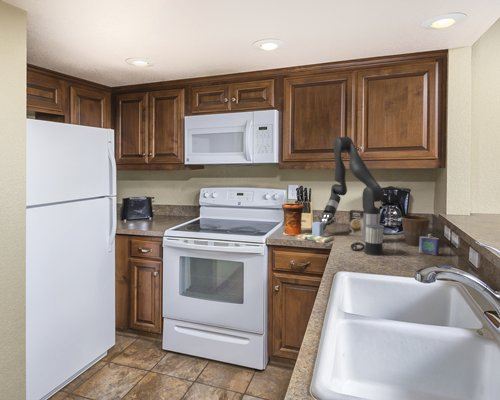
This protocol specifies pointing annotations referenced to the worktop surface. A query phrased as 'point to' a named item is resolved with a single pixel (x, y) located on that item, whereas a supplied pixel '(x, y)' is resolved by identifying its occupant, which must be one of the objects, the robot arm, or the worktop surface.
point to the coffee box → (356, 222)
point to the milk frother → (372, 240)
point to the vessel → (292, 218)
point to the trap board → (315, 238)
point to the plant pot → (414, 228)
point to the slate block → (317, 228)
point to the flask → (429, 245)
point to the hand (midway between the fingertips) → (322, 229)
